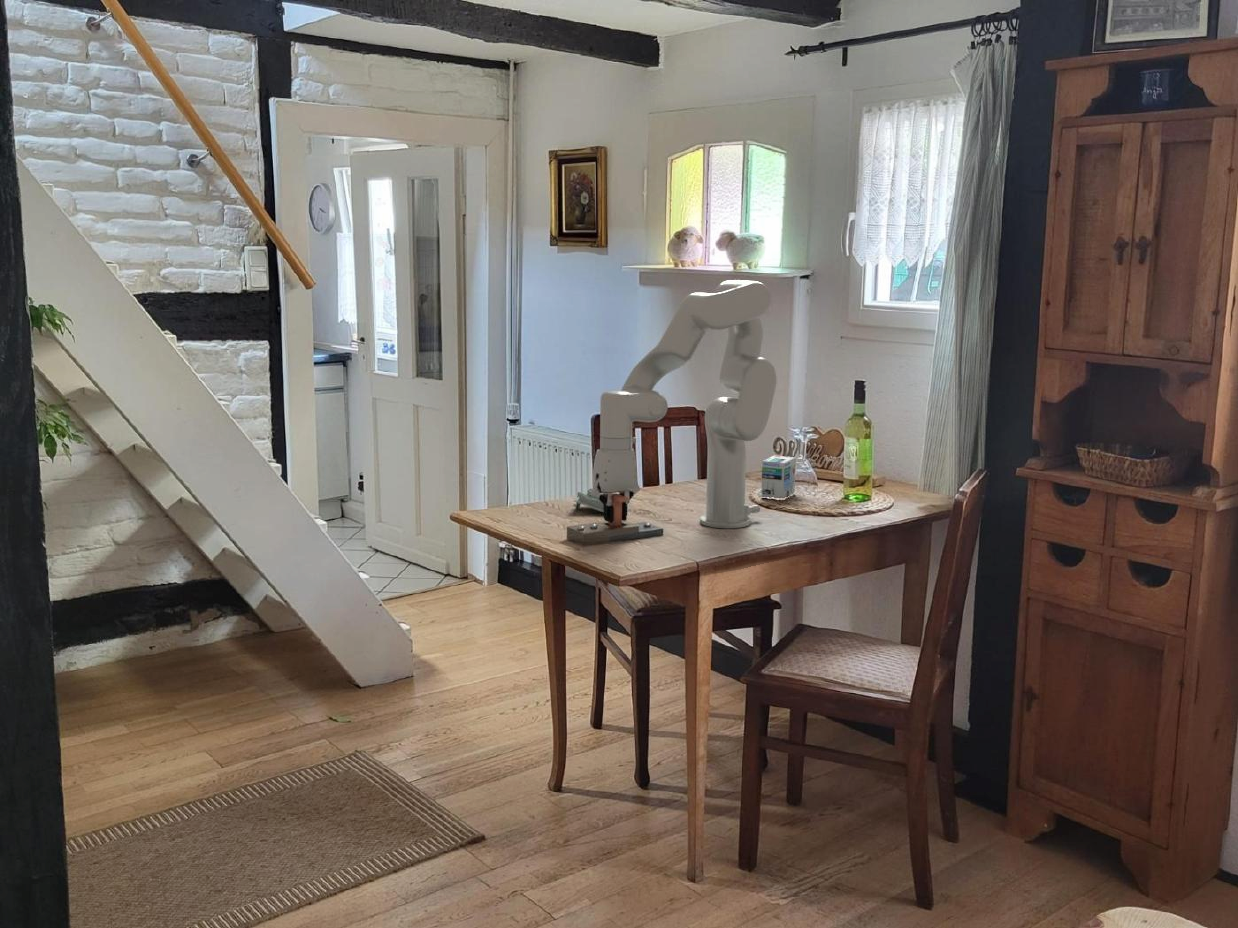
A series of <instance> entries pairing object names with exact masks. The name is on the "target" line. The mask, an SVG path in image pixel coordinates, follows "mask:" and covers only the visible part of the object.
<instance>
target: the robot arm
mask: <svg viewBox="0 0 1238 928" xmlns="http://www.w3.org/2000/svg"><path fill="white" fill-rule="evenodd" d="M771 304H772V293H771V291H770V289H769V288H768V286H767V285H765V283H762V282H759V281H755V280H740V279H737V280H736V279H734V280H731V279H729V280H725V281H722V282H721V283H720V284H719V285H717V286H716V289H715V292H714V293H711V292H710V293H707V292H693V293H689V294H688V295H686V296H685V297H683V300H682V301H681V303H680V304H679V306H678V308H677V309H676V312H675V313H674V315H673V317H672V318H671V321H670V322H669V324H668V326H667V328H666V330H665V331H664V333H663V335H662V337H661V338H660V340H659V342H658V343H657V345H656V346H655V347H654V348H652V349H651V350H650V351H649V352H648V353H647V354H646V355H645V356H644V357H643V358H642V359H641V360H640V361H639V362H638V363H637V364H636V365H635V366H634V367H633V368H632V370H631V371H630V373H629V375H628V377H627V379H626V381H625V382H624V383H623V386H622V388H621V390H607V391H605V392H603V393H601V396H600V405H599V407H600V411H599V412H600V415H599V416H600V417H599V419H600V420H599V421H600V424H599V427H600V430H599V437H600V438H599V446H600V447H599V449H597V450H596V452H595V457H594V462H593V470H592V471H593V472H592V488H591V489H592V491H590V492H591V495H592V496H594V497H596V498H598V499H599V500H600V501H601V503H602V504H603V512H602V513H603V515H602V516H603V520H604V521H608V522H610V523H611V522H613V514H614V507H613V506H612V505H611V504H612V493H618V494H619V495H622V496H625V497H628V502H622V520H623V521H627V519H628V518H627V516H628V509H627V504H628V505H630V504H629V503H630V502H631V499H632V498H633V497H634V496H635V495H637V493H639V492H640V491H641V487H640V486H639V483H638V465H637V458H636V452H635V449H634V448H633V444H636V442H637V438H636V437H633V423H634V422H643V423H654V422H655V423H656V422H658V421H660V420H661V419H663V418H664V417H665V415H666V414H667V412H668V407H669V405H668V400H667V398H665V396H664V395H663V394H662V393H660V392H659V391H656V390H654V388H655V387H656V385H657V384H658V382H660V380H662V378H664V377H665V376H666V375H667V374H669V373H672V372H673V371H676V370H678V369H681V368H682V367H684V366H685V365H687V364H688V363H689V362H691V359H692V358H693V357H694V356H693V355H694V354H695V352H696V350H697V348H698V347H699V345H700V342H702V340H703V338H704V335H705V334H706V332H707V330H709V331H721V330H724V329H727V331H728V334H727V341H726V345H725V350H724V354H723V358H722V362H721V366H720V372H719V382H720V385H721V386H722V388H723V389H725V390H726V391H729V392H731V393H732V392H733V393H735V394H738V397H737V398H735V397H730V396H729V397H728V396H722V397H721V396H720V397H717V398H715V399H714V400H712V401H711V402H709V404H708V405H707V407H706V408H705V412H704V427H705V434H706V442H707V462H706V465H707V466H706V502H705V503H706V508H705V509H706V510H705V511H706V512H705V514H703V515H701V516H700V518H699V523H700V524H702V525H704V526H707V527H709V528H716V529H738V528H739V529H740V528H743V527H748V526H749V525H751V518H750V517H749V515H750V514H758V513H759V512H761V511H760V510H761V509H760V506H759V505H758V504H755V505H750V506H749V504H747V503H745V502H746V501H745V500H746V474H747V473H746V472H747V471H746V467H747V466H746V465H747V449H746V444H745V442H752V441H755V440H757V439H758V438H760V437H761V436H762V434H764V431H765V430H766V427H767V425H768V422H769V417H770V414H771V409H772V405H773V400H774V396H775V392H776V387H777V380H778V379H777V372H776V369H775V367H774V365H773V364H772V362H771V361H770V360H768V359H767V358H764V357H761V351H762V344H763V339H764V330H763V325H762V320H761V318H760V317H762V316H763V315H764V314H766V313H767V311H768V310H769V309H770V307H771ZM600 493H602V494H600Z"/></svg>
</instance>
